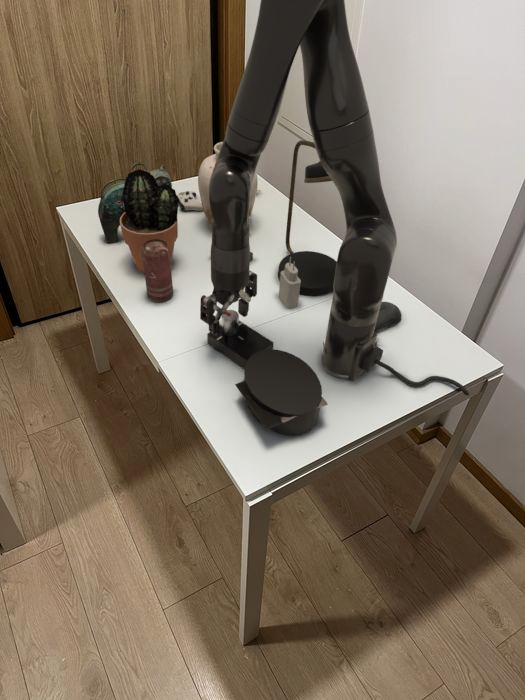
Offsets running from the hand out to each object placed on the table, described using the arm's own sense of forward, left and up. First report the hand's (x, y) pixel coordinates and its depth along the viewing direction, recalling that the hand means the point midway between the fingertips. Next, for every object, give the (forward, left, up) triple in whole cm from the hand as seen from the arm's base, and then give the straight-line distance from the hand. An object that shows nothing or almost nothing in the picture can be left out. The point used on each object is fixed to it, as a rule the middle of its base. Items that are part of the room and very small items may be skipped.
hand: (229, 323), depth 114 cm
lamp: (+4, -32, -5) cm, 33 cm away
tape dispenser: (-19, +6, -5) cm, 21 cm away
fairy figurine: (+44, -50, -5) cm, 67 cm away
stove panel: (-3, 0, -5) cm, 6 cm away
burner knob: (0, 0, -2) cm, 2 cm away
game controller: (+50, -34, -5) cm, 60 cm away
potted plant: (+34, -7, -5) cm, 35 cm away
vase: (+34, -34, -5) cm, 48 cm away
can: (+23, 0, -5) cm, 23 cm away
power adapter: (0, -20, -5) cm, 21 cm away
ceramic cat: (+47, -13, -5) cm, 49 cm away
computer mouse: (-20, -28, -5) cm, 35 cm away
